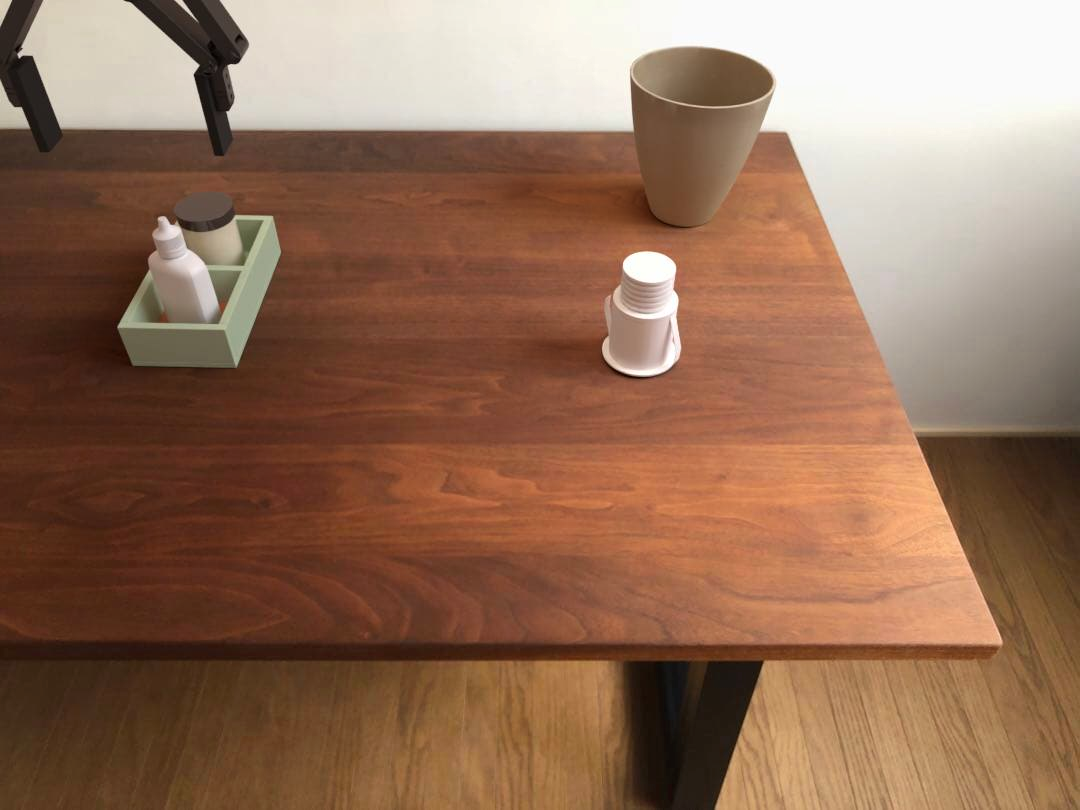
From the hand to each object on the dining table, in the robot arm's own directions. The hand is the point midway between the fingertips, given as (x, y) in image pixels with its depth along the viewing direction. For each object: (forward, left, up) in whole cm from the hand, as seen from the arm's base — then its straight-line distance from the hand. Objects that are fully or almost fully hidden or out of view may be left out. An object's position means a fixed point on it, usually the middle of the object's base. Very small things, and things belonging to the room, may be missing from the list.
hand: (138, 146), depth 71 cm
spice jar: (+5, +9, -20) cm, 22 cm away
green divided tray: (+3, +5, -20) cm, 21 cm away
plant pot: (+54, -7, -20) cm, 58 cm away
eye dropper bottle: (0, +1, -20) cm, 20 cm away
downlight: (+34, -24, -20) cm, 46 cm away
